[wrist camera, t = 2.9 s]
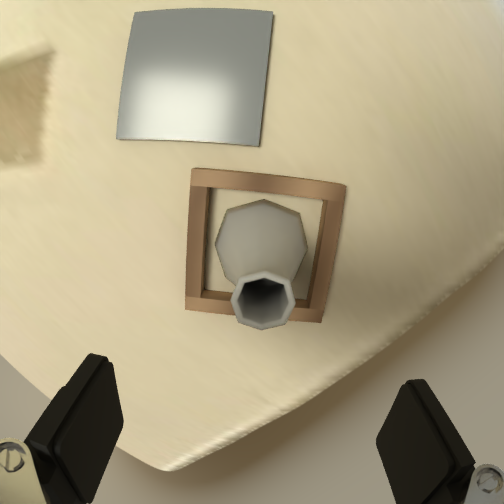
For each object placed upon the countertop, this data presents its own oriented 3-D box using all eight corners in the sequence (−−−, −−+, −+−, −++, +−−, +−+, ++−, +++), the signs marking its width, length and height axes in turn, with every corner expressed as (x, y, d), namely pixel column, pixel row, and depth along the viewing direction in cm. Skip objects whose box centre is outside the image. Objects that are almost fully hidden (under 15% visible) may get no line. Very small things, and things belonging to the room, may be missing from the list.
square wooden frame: (340, 183, 23) (346, 185, 22) (318, 313, 27) (321, 322, 25) (195, 167, 23) (191, 168, 22) (188, 300, 27) (185, 309, 25)
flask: (302, 289, 26) (324, 362, 17) (214, 285, 26) (192, 357, 17) (311, 201, 24) (345, 234, 14) (215, 196, 24) (188, 226, 14)
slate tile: (272, 14, 19) (273, 11, 19) (258, 146, 23) (258, 146, 22) (137, 14, 19) (134, 12, 19) (119, 139, 23) (116, 139, 22)
